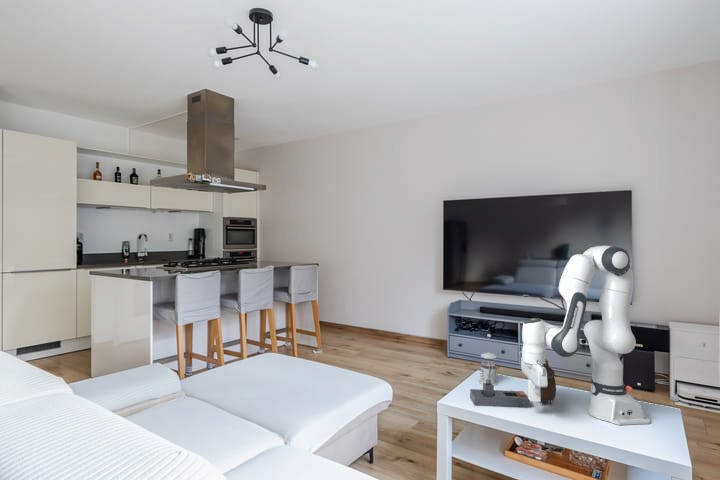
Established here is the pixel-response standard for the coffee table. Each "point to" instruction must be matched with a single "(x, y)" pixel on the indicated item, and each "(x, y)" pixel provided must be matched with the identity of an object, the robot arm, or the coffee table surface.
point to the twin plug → (488, 388)
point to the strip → (500, 398)
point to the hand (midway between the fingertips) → (534, 390)
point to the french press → (488, 369)
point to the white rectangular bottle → (531, 394)
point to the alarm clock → (550, 390)
